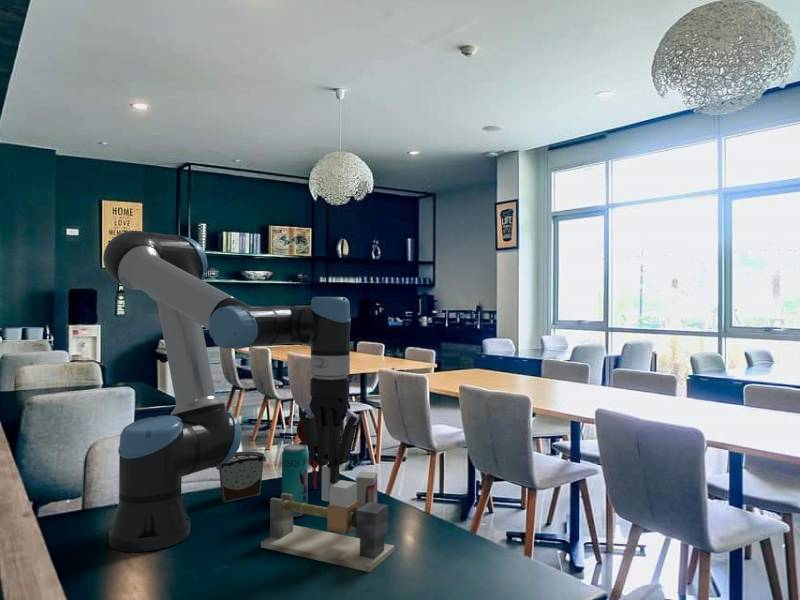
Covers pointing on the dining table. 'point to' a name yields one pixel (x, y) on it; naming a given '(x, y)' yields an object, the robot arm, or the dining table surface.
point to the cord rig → (330, 535)
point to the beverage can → (295, 473)
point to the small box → (366, 488)
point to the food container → (241, 476)
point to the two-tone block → (342, 506)
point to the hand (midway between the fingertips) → (328, 498)
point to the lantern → (314, 464)
